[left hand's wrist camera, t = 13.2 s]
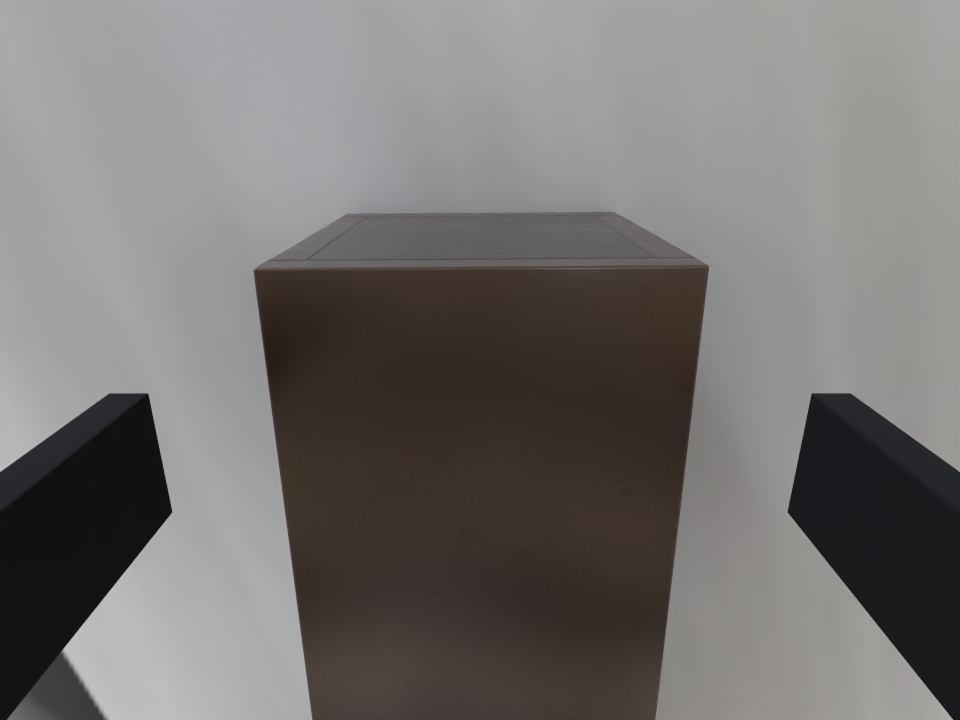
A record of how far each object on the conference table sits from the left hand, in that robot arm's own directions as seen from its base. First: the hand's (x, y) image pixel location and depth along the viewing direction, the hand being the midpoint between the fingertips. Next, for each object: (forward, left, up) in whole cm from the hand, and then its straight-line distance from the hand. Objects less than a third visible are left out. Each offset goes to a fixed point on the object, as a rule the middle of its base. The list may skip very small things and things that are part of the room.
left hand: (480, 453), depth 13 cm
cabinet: (+3, -6, -13) cm, 15 cm away
